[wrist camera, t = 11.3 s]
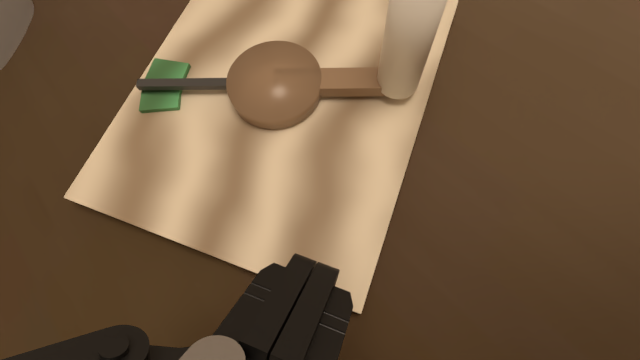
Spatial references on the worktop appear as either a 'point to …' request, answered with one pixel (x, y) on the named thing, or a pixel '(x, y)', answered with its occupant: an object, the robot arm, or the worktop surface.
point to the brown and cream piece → (321, 71)
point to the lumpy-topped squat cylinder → (13, 26)
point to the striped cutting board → (263, 144)
